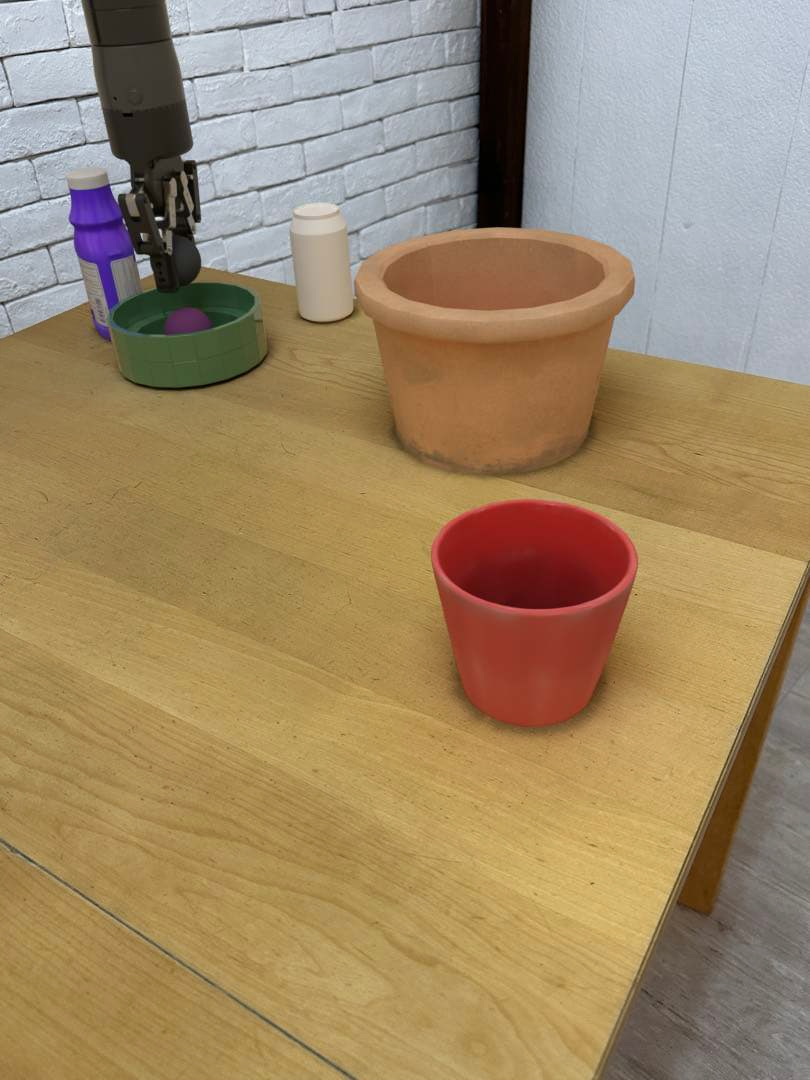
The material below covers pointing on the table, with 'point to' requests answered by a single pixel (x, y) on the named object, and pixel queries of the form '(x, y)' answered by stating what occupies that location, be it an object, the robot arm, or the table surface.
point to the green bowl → (188, 335)
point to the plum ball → (186, 321)
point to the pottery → (493, 342)
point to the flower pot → (532, 604)
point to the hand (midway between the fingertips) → (179, 281)
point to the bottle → (101, 244)
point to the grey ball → (185, 259)
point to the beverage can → (321, 262)
